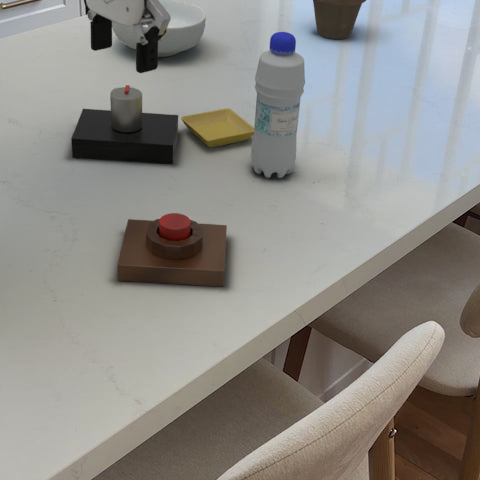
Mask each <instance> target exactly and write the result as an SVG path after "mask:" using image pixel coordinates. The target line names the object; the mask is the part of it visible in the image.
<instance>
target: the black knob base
mask: <svg viewBox="0 0 480 480" xmlns="http://www.w3.org/2000/svg"><path fill="white" fill-rule="evenodd" d="M178 136H179V115H178V114H169V113H168V114H167V113H155V112H154V113H152V112H142V128H141V129H140V130H138V131H135V132H119V131H116V130H114V129H113V128H112V127H111V109H109V110H107V109H95V108H94V109H93V108H82V110H81V113H80V115H79V118H78V121H77V123H76V126H75V128H74V131H73V134H72V136H71V139H70V141H71V157H72V158H73V159H84V160H101V161H114V162H118V161H119V162H131V163H132V162H133V163H146V164H163V165H164V164H165V165H174V159H175V154H176V149H177V148H176V147H177V142H178Z"/></svg>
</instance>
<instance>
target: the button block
mask: <svg viewBox="0 0 480 480" xmlns="http://www.w3.org/2000/svg"><path fill="white" fill-rule="evenodd" d="M159 220H160V218H156V219H154V220H149V219H133V218H131V219H130V218H128V219H127V223H126V226H125V232H124V235H123V239H122V245H121V248H120V253H119V257H118V262H117V281H118V282H119V281H120V282H134V283H153V284H155V283H156V284H169V285H170V284H171V285H189V286H206V287H225V285H224V284H225V269H226V252H227V251H226V249H227V248H226V247H227V232H228V225H227V224H213V223H199V222H197V221H195V220H192V219H190V221H191V227H190V236H189V238H188V239H185V240H180V241H170V240H166V239H164V238H161V237H160V235H159Z"/></svg>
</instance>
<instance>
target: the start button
mask: <svg viewBox="0 0 480 480" xmlns="http://www.w3.org/2000/svg"><path fill="white" fill-rule="evenodd" d="M159 219H160V220H159V235H160V237H161V238H164V239H166V240H170V241H180V240H185V239H188V238H189V236H190V227H191V221H190V220H191V219H190V217H189V216H188V215H186V214H183V213H178V212H176V213H175V212H172V213H171V212H170V213H166V214H164V215H161V216H160V218H159Z"/></svg>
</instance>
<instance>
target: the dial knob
mask: <svg viewBox="0 0 480 480" xmlns="http://www.w3.org/2000/svg"><path fill="white" fill-rule="evenodd" d="M109 96H110V111H111V127H112V128H113V129H114V130H116V131H119V132H135V131H138V130H140V129H141V128H142V113H143V92H142V91H141V90H140V89H138V88H135V87H131V86H130V85H129V84H125V86H121V87H116V88H114V89H112V90H111V91H110V95H109Z"/></svg>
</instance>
